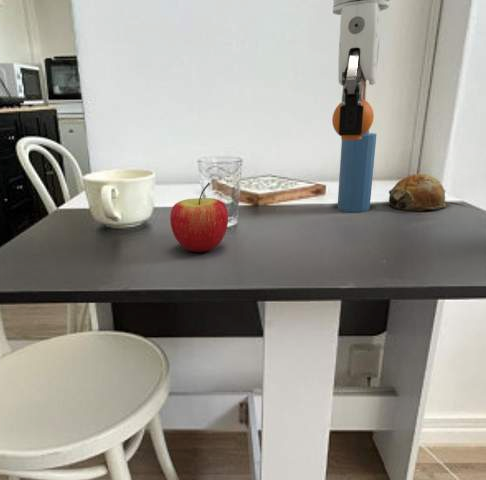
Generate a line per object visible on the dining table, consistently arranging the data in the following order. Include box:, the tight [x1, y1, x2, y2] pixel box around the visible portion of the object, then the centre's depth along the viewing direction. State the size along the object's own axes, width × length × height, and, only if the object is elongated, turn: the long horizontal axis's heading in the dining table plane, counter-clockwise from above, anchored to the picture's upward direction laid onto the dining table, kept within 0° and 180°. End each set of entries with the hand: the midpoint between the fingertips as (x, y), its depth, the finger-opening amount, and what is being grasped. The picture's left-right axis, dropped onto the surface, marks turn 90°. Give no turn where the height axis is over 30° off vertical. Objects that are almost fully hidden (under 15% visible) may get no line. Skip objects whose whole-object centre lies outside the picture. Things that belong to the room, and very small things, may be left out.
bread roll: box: [388, 173, 447, 212], centre depth 85 cm, size 10×10×8 cm
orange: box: [331, 99, 375, 141], centre depth 67 cm, size 6×6×6 cm
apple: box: [169, 182, 229, 253], centre depth 64 cm, size 8×8×10 cm
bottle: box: [337, 129, 377, 213], centre depth 83 cm, size 6×6×18 cm
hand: (351, 132), depth 68 cm, fingers closed on orange, 6 cm apart
